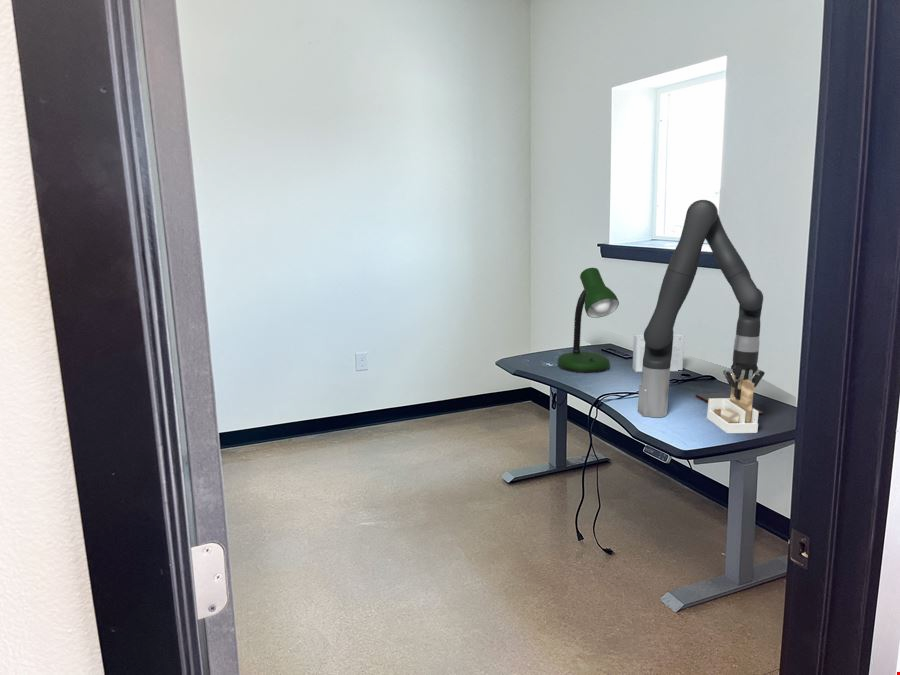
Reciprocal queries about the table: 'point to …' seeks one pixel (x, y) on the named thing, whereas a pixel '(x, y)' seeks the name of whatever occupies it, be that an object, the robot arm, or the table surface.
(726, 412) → the offcut maple
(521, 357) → the table surface
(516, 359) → the table surface
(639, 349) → the skincare box
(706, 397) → the smartphone
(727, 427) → the rack
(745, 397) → the tan rectangular block
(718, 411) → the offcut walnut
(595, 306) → the desk lamp
